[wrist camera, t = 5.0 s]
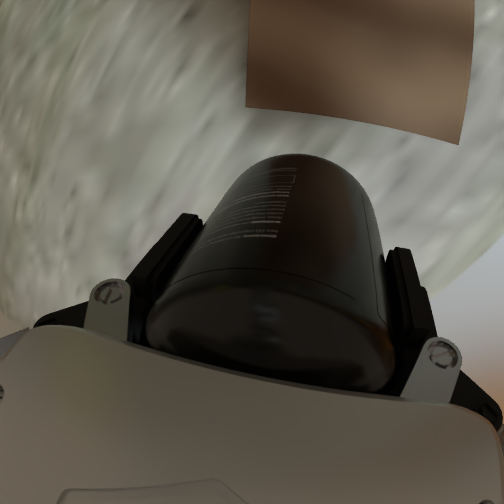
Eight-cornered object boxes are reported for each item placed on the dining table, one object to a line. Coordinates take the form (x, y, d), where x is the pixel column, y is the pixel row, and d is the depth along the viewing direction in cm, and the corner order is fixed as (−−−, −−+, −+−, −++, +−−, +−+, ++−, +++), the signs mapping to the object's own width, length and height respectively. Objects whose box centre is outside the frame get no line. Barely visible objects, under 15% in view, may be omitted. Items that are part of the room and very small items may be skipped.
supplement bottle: (223, 266, 17) (114, 489, 7) (231, 137, 13) (-2, 382, 3) (353, 295, 16) (330, 544, 6) (395, 170, 12) (480, 504, 2)
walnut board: (260, -98, 9) (256, -104, 8) (464, -63, 7) (469, -68, 6) (249, 105, 17) (245, 107, 16) (452, 141, 15) (458, 145, 14)
